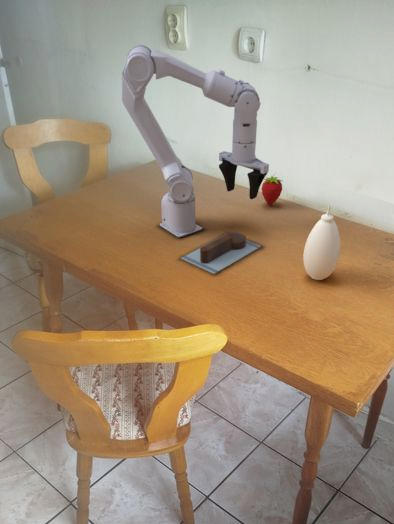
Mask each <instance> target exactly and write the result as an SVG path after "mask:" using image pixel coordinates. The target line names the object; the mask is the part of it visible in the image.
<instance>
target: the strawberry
mask: <svg viewBox="0 0 394 524" xmlns="http://www.w3.org/2000/svg"><path fill="white" fill-rule="evenodd" d="M275 175H277V173H276V172H274V174H273V175H271V176H270V177H266V178H264V179H263V181H264V182H262V184H261V193H262V196H263V199H264V201H265V203H266V204H267V206H268V207H272V206H273V205H274V203H275V202H276V201H277V200H278V199H279V197H280V196H281V194H282V191H283V184H282V182H283V179H280V178H279V177H277V176H275Z"/></svg>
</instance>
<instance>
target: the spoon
mask: <svg viewBox="0 0 394 524" xmlns="http://www.w3.org/2000/svg"><path fill="white" fill-rule="evenodd" d="M227 233H228V234H227ZM227 233H225V234H226V235H225V234H223V235H222V236H220V237H217V238H216V239H214V240H215V241H214V240H212V241H213V242H212V241H210V242H211V243H210V242H208V243H209V244H208V243H206V244H205V245H203V246H201V247H199V248H200V262H201V263H204V264H205V263H209V262H210V261H212V260H214V259H216V258H217V257H219V256H221V255H223V254H225V253H226V252H228V251H230V250H232V249H233V250H238V249H242V248H244V247H245V246H246V240H247V236H246V234H244V233H242V232H236V231H235V232H234V231H233V232H227Z"/></svg>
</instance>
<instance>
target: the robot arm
mask: <svg viewBox="0 0 394 524" xmlns="http://www.w3.org/2000/svg"><path fill="white" fill-rule="evenodd" d="M154 75H155V80H160V79H163V78H167V77H172V78H174V79H176V80H179V81H181V82H183V83H186V84H189V85H191V86H194V87H196V88H199V89H201V90H202V94H203V96H204V97H205V98H208V99H209V100H211V101H213V102H217V103H218V104H221V105H223V106H226V107H228V108H234V110H233V111H234V113H233V120H232V142H231V144H232V145H231V146H232V147H231V152H229V151H221V152H219V153H218V161H219V162H221V163H219V164H218V169H219V170H220V172H221V174H222V176H223V179H224V182H225V187H226V191H227V192H232V191H233V190H235V185H236V176H237V175H236V174H237V169H238V166H240V167H243V168H245V169H246V168H247V169H250V170H252V171H250V172H247V174H246V175H247V178H248V183H249V185H248V186H249V192H248V193H249V194H248V195H249V199H250V200H254V199H256V198H257V197H258V193H259V191H260V188H261V186H262V184H263V181H264V179H266V177H267V175H268V173H269V168H270V164H269V163H267V162H265V161H263V160H261V159H259V158H257V155H256V147H257V145H256V143H257V130H258V129H257V127H258V118H257V117H258V112H259V109H260V107H261V101H260V96H259V94H258V92H257V90H256V87H254V86H253V85H251V84H250V83H249V82H245V81H244V80H242V79H239V80H237V79H235V78H233V77H230V76H228V75H227V74H226V72H225V70H223V69H219V70H218V71H217V70H215V69H214V70H211V71H209V72H204V71H202V70H200V69H198V68H196V67H194V66H192V65H190V64H188V63H186V62H184V61H182V60H180V59H178V58H176V57H174V56H172V55H170V54H168V53H165V52H163V51H161V50H159V49H155V48H151V49H150V48H149V47H148V46H147V45H144V44H137V45H134V46H132V47H131V48H130V50H129V52H128V54H127V57H126V60H125V62H124V65H123V68H122V71H121V102H122V105H123V106H124V108H125V110H126V111H127V113H128V115H129V117H130V119H131V120H132V122H133V123H134V125H135V126H136V128H137V130H138V132H139V134H140V136H141V137H142V139H143V140H144V142H145V144H146V146H147V147H148V149H149V151H150V152H151V155H152V156H153V157H154V160H155V161H156V162H157V165H158V166H159V168H160V169H161V172H162V175H163V177H164V181H165V182H166V184H167V186H168V187H167V188H168V192H166V193H165V194H164V195H163V197H162V199H161V203H160V207H161V223H159V226H160V227H162V228H163V229H165V230H166V231H167V232H169V233H171V234H172V235H173V236H175V237H177V238H182V237H185V236H188V235H191V234H194V233H196V232H197V233H198V232H199V231H202V230H203V226H200V225H198V224H197V223H196V220H197V219H196V217H197V216H196V194H195V193H194V192H195V189H194V184H193V183H194V182H193V180H194V175H193V172H192V171H191V170H190V169H189V167H187V166H185V165H184V164H183V162H182V160H181V159H180V158H179V157H178V156H177V155H176V153H175V151H174V149H173V147H172V145H171V143H170V142H169V140H168V138H167V136H166V135H165V133H164V131H163V129H162V128H161V125H160V123H158V120H157V118H156V116H155V115H154V113H153V111H152V110H151V107H150V106H149V104H148V101H147V100H146V99H145V94H146V90H147V86H148V85H149V83H150V82H151V81H152V78H153V76H154Z"/></svg>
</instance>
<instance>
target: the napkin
mask: <svg viewBox="0 0 394 524" xmlns="http://www.w3.org/2000/svg"><path fill="white" fill-rule="evenodd" d="M228 233H229V232H227V233H225V234H224V235H226V234H228ZM215 240H216V239H214V240H212V241H210V242H208V243H207V244H209V243H211V242H213V241H215ZM200 248H201V247H199V248H197V249H195V250H193V251H191V252H190V253H188V254H185V255H184V256H182V257H180V259H181V260H183V261H185V262H187V263H189V264H191V265H193V266H196V267H197V268H200V269H201V270H203V271H206V272H207V273H210V274H213V275H216V274H218V273H219V272H222V271H223V270H225V269H226V268H228V267H229V266H231V265H233V264H235V263H237V262H239V261H240V260H241V259H243V258H245V257H247V256H248V255H250V254H252V253H253V252H255V251H258V250H259V249H261V248H262V246H261V245H260V244H257V243H255V242H252V241H250V240H247V239H246V246H245V247H244V248H242V249H238V250H233V249H232V250H230V251H228V252H226V253H225V254H223V255H221V256H219V257H217V258H216V259H214V260H212V261H210V262H209V263H205V264H204V263H201V262H200Z"/></svg>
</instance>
